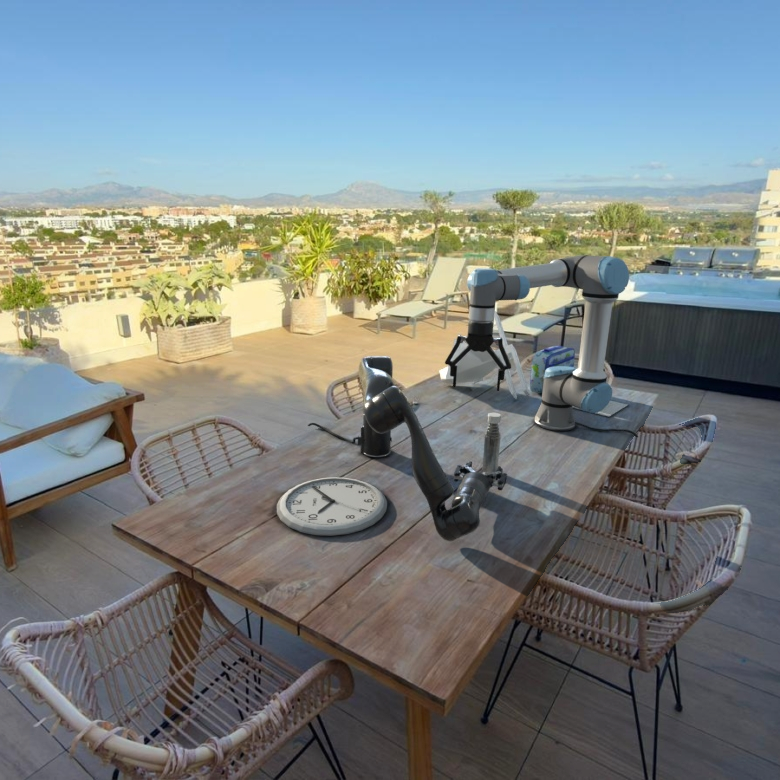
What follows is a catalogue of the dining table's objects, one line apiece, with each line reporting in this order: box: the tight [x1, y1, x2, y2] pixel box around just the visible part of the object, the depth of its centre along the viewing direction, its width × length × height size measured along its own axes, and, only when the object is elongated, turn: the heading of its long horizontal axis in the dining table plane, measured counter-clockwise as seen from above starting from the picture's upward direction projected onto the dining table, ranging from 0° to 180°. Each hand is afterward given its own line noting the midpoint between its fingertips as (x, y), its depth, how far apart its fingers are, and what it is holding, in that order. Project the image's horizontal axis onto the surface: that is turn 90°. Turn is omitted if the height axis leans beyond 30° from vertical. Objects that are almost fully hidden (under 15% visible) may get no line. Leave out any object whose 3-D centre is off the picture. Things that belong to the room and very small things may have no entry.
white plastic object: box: [438, 310, 531, 400], centre depth 245 cm, size 37×45×31 cm
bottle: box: [481, 422, 501, 473], centre depth 161 cm, size 5×5×19 cm
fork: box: [410, 396, 421, 408], centre depth 222 cm, size 3×16×2 cm, turn 160°
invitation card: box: [573, 400, 629, 418], centre depth 226 cm, size 21×1×15 cm
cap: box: [487, 412, 502, 425], centre depth 158 cm, size 4×4×2 cm
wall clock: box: [276, 476, 388, 537], centre depth 142 cm, size 30×2×30 cm
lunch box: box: [529, 345, 576, 394], centre depth 244 cm, size 26×11×21 cm, turn 135°
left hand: (485, 466), depth 154 cm, fingers open, 8 cm apart
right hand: (476, 388), depth 164 cm, fingers open, 13 cm apart
